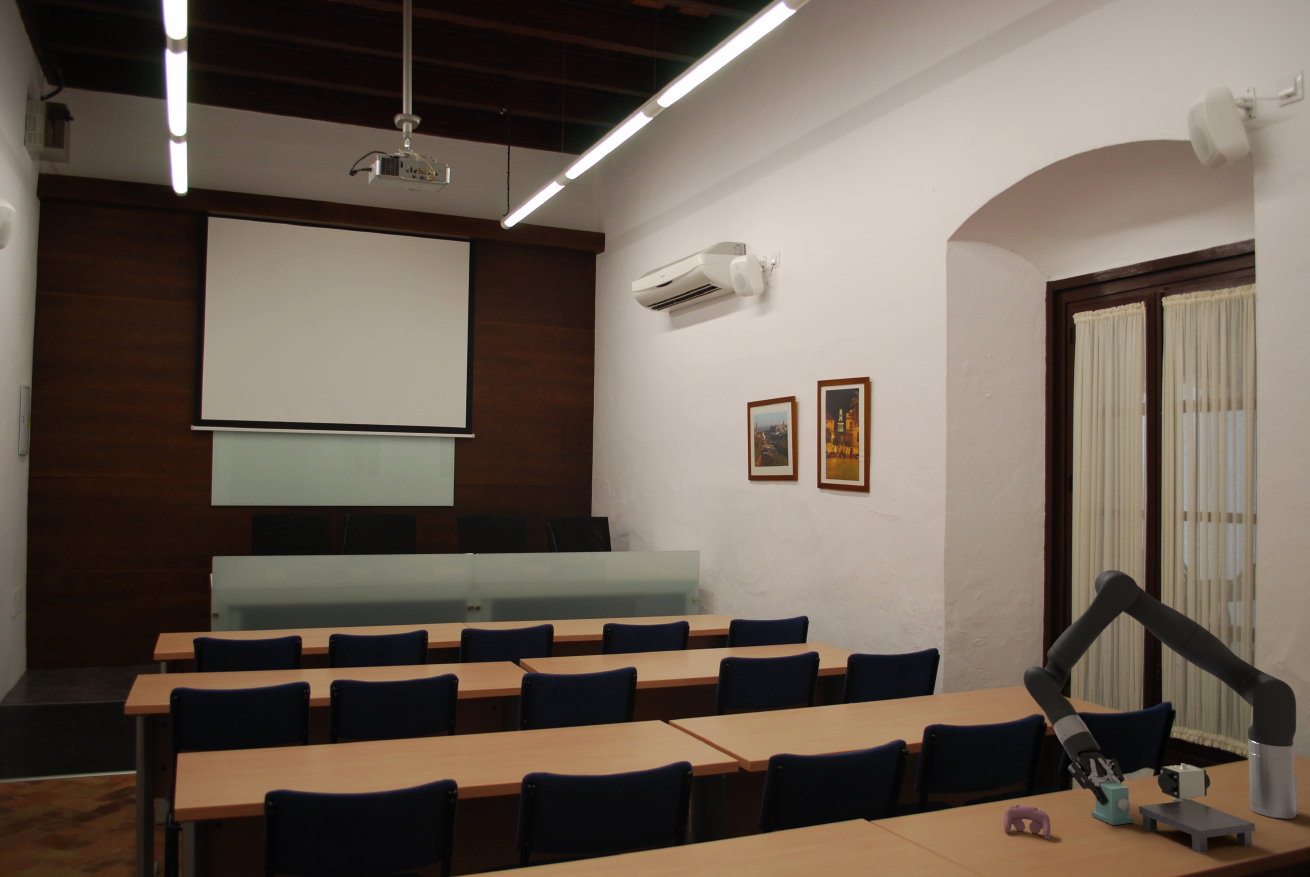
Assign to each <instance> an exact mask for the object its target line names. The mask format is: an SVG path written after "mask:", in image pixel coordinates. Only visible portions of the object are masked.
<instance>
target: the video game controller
mask: <svg viewBox="0 0 1310 877" xmlns="http://www.w3.org/2000/svg"><path fill="white" fill-rule="evenodd" d="M1023 820H1029V821H1031V822H1030V823H1029V826H1028V828H1029V831H1030V832H1031V833H1032V834H1034V833H1036V834H1035V835H1037V834H1039V833H1040V832H1041V830H1042V832H1043V836H1044V838H1045V840H1046V839H1047V840H1050V838H1051V821H1050V817H1049V815H1048V814H1047V813H1046V812H1045V811H1043V810H1042V809H1040V808H1037V807H1035V806H1031V805H1024V804H1017V805H1011V806H1009V807H1008V808H1006V810H1005V811H1004V816H1003V828H1004V829H1003V830H1004V832H1005V834H1007V833H1008V834H1009V833H1011V830H1012V825H1013V826H1014V829H1015V830H1016V831H1017V832H1024V831H1025V830H1026V824H1025V822H1024V821H1023ZM1047 840H1046V841H1047Z"/></svg>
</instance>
